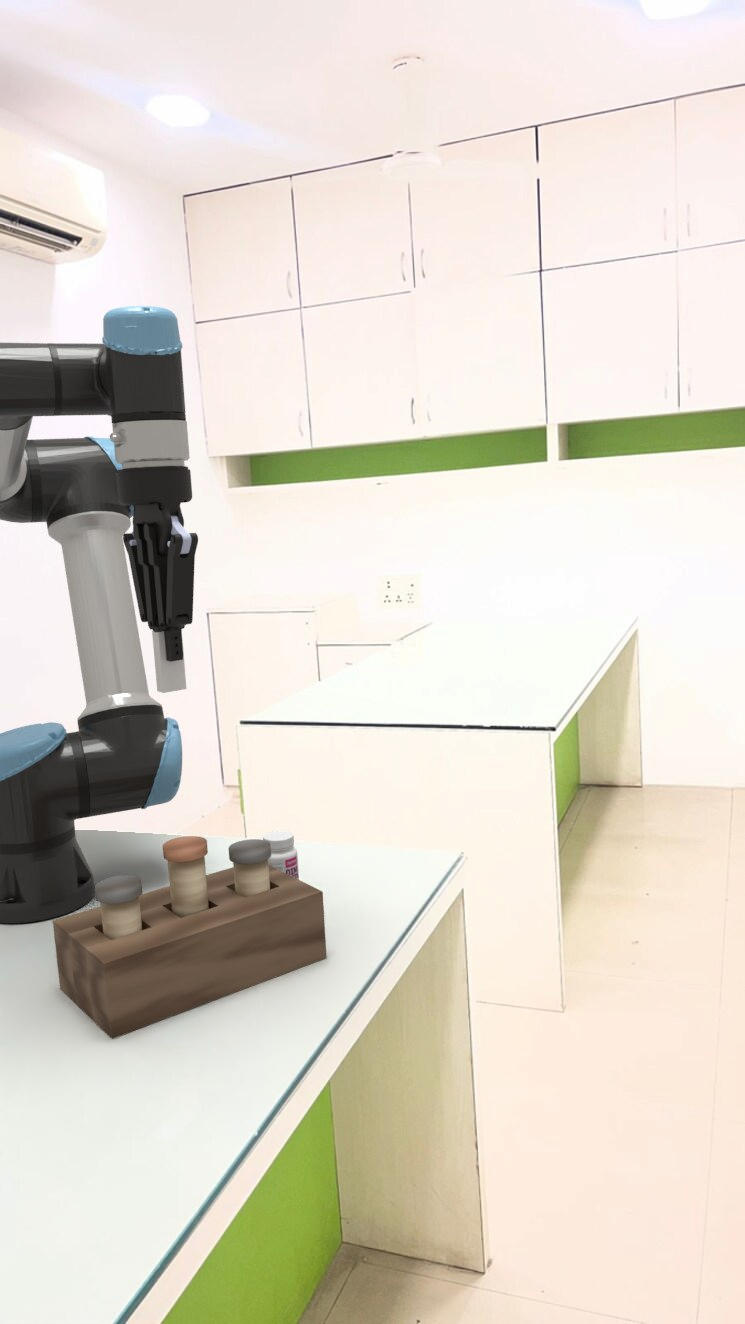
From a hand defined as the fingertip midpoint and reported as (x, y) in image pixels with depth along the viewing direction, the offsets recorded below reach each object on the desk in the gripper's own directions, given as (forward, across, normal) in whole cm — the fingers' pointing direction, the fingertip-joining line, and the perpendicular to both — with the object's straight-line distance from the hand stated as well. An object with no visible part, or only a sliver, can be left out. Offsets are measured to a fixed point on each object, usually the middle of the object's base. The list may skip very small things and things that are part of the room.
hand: (171, 689), depth 111 cm
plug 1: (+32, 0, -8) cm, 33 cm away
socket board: (+32, 0, 0) cm, 32 cm away
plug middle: (+29, 0, 0) cm, 29 cm away
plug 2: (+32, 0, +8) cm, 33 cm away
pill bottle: (+33, -12, +19) cm, 40 cm away
